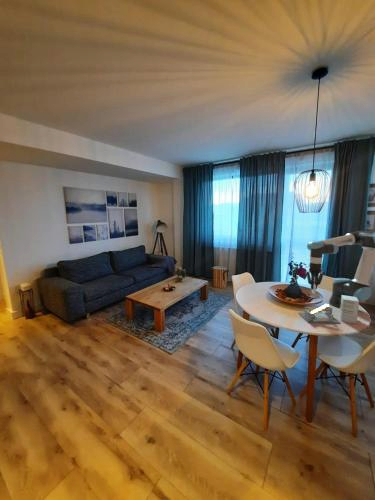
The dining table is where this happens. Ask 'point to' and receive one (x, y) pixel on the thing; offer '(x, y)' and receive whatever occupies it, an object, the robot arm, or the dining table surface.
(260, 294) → the dining table surface
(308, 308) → the strap
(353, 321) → the supplement box
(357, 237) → the robot arm
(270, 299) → the dining table surface
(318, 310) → the strap
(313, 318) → the base plate
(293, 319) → the dining table surface
